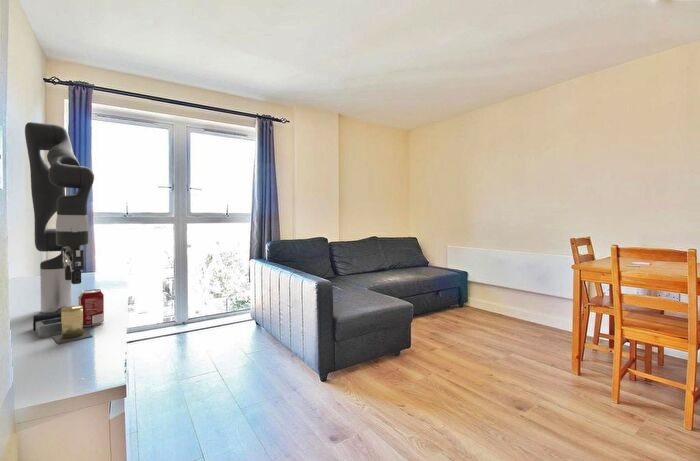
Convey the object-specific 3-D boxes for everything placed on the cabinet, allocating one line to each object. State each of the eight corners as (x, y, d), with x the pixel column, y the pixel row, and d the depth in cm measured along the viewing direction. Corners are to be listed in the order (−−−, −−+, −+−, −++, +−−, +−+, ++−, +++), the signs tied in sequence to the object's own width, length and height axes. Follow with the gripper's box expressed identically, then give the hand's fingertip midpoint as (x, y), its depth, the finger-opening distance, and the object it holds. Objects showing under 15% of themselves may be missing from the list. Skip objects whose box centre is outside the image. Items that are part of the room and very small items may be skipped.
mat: (52, 338, 97) (52, 336, 97) (85, 331, 103) (85, 330, 103) (57, 344, 92) (57, 342, 92) (92, 336, 98) (92, 335, 98)
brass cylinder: (60, 336, 97) (59, 307, 97) (80, 332, 101) (80, 304, 101) (63, 340, 94) (63, 310, 94) (84, 335, 98) (84, 307, 98)
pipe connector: (35, 309, 111) (90, 302, 121) (35, 324, 111) (90, 316, 121) (33, 317, 102) (92, 309, 112) (33, 333, 102) (92, 323, 113)
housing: (35, 332, 102) (35, 321, 102) (68, 326, 108) (68, 316, 108) (39, 338, 97) (39, 326, 97) (73, 331, 103) (73, 320, 103)
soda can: (107, 323, 111) (107, 290, 111) (84, 329, 105) (84, 293, 105) (97, 320, 114) (97, 288, 114) (74, 326, 108) (74, 291, 108)
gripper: (51, 229, 98) (51, 280, 99) (61, 230, 90) (61, 287, 90) (82, 229, 104) (82, 277, 105) (94, 230, 96) (94, 283, 96)
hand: (72, 281), depth 97 cm, fingers open, 8 cm apart
